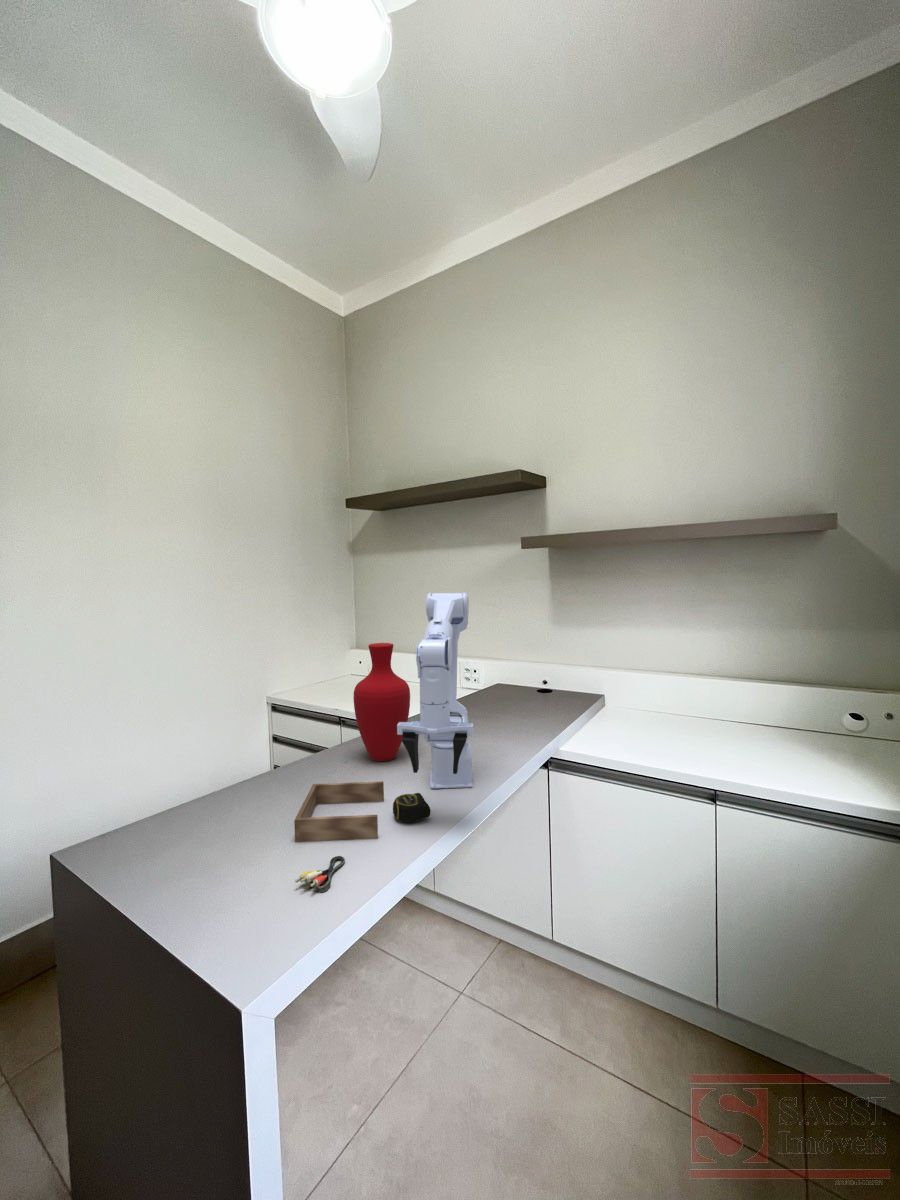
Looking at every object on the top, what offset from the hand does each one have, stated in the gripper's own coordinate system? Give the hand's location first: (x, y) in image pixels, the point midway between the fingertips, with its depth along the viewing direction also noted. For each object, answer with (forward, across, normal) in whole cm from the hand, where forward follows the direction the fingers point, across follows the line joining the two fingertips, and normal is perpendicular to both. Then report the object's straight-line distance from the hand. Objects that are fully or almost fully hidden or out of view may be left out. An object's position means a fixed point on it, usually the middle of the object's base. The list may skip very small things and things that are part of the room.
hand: (435, 771), depth 96 cm
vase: (+9, -19, +33) cm, 39 cm away
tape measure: (+10, -5, +2) cm, 12 cm away
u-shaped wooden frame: (+10, -18, 0) cm, 21 cm away
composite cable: (+11, -15, -19) cm, 26 cm away
